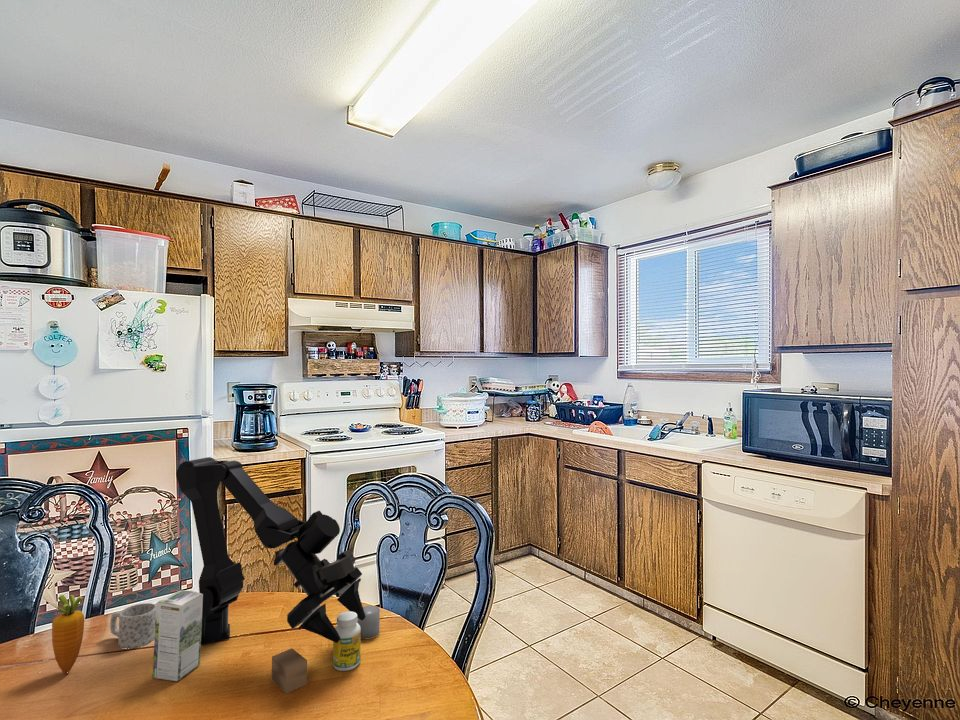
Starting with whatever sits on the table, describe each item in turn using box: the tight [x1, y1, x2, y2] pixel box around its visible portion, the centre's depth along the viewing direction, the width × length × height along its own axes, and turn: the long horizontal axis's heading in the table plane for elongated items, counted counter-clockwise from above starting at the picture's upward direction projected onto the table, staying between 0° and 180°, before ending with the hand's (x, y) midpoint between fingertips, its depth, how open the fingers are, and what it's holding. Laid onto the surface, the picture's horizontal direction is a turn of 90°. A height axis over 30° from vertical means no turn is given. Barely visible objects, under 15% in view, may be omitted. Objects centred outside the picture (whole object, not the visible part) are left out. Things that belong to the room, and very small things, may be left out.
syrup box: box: [152, 589, 203, 682], centre depth 97 cm, size 6×6×14 cm
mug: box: [109, 602, 156, 650], centre depth 108 cm, size 10×7×7 cm, turn 80°
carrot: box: [51, 594, 85, 674], centre depth 96 cm, size 5×5×15 cm
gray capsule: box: [357, 605, 381, 639], centre depth 112 cm, size 5×5×5 cm
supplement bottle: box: [332, 610, 361, 672], centre depth 100 cm, size 5×5×10 cm
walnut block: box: [270, 647, 308, 695], centre depth 94 cm, size 6×4×4 cm, turn 47°
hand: (351, 629), depth 99 cm, fingers open, 9 cm apart
